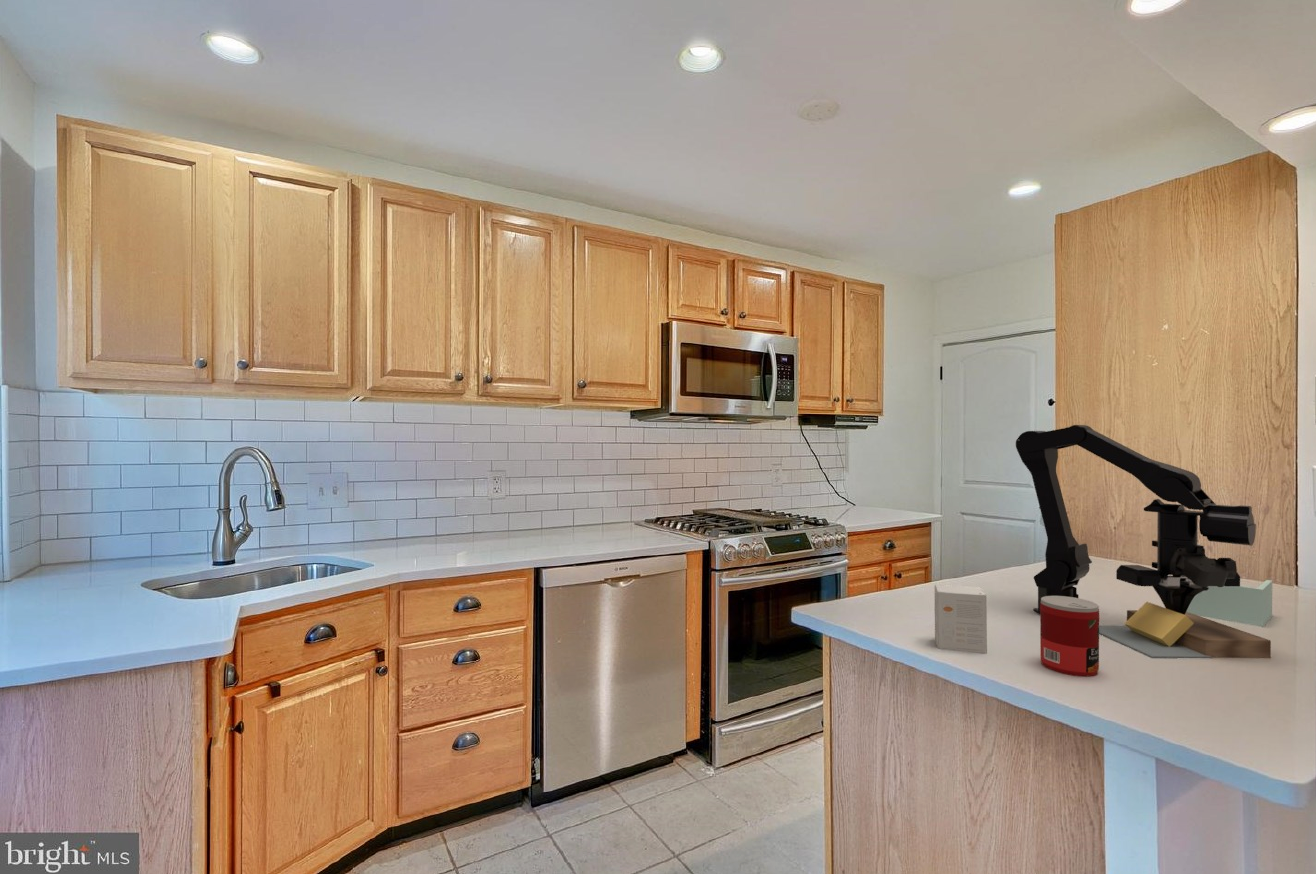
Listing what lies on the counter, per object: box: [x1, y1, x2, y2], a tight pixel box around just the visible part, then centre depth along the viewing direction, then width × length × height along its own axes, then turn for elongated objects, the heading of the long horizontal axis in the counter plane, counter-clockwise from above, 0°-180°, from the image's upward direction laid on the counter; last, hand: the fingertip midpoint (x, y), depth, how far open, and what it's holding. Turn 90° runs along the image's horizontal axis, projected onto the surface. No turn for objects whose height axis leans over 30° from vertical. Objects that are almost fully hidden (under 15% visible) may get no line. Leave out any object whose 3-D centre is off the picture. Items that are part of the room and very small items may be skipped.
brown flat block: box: [1126, 609, 1272, 659], centre depth 115 cm, size 11×18×3 cm, turn 179°
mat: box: [1099, 625, 1212, 659], centre depth 114 cm, size 10×17×1 cm, turn 179°
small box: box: [934, 584, 988, 654], centre depth 111 cm, size 8×6×10 cm
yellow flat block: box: [1124, 601, 1194, 647], centre depth 114 cm, size 6×9×2 cm
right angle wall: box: [1186, 579, 1273, 628], centre depth 131 cm, size 12×12×8 cm
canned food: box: [1039, 596, 1100, 677], centre depth 101 cm, size 8×8×11 cm
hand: (1176, 621), depth 115 cm, fingers closed
